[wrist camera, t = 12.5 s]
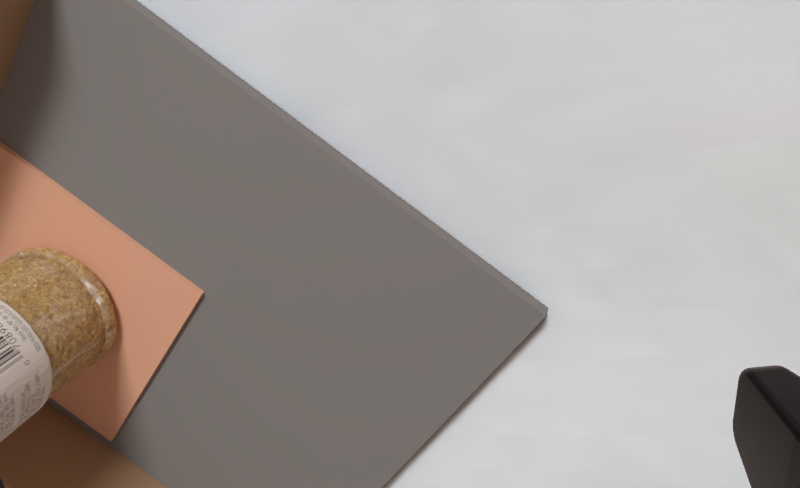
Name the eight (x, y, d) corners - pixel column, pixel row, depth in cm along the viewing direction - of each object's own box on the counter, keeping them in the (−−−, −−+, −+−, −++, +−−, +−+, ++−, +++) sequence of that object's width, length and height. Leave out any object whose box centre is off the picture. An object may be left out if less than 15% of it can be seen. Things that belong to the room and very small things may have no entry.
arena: (547, 307, 21) (534, 384, 17) (283, 584, 28) (236, 678, 25) (30, -80, 20) (-92, -81, 17) (-100, 305, 28) (-204, 360, 24)
